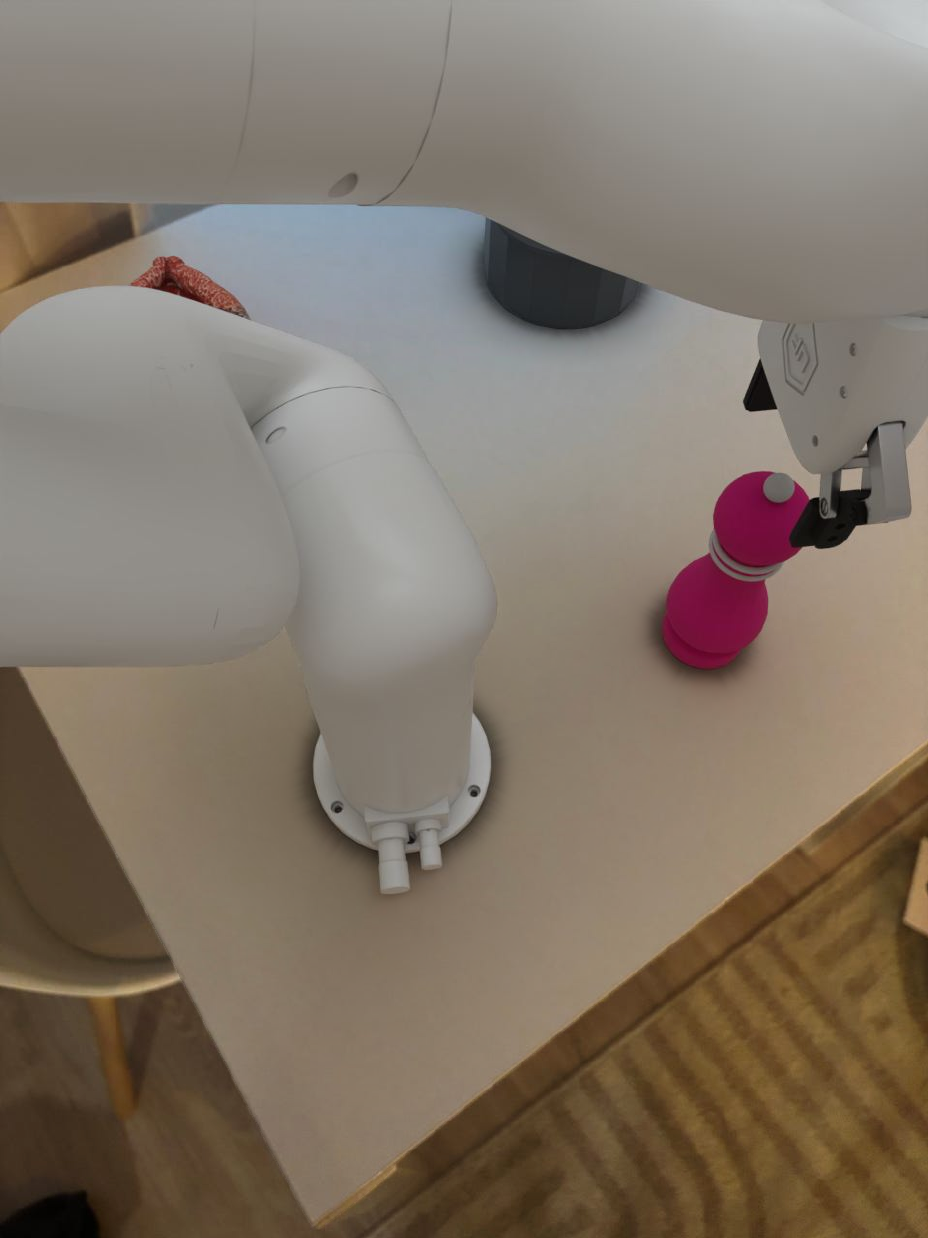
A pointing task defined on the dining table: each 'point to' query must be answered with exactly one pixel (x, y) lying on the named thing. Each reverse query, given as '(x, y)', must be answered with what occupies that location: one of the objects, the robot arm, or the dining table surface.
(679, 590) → the pepper mill
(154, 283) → the dish
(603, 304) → the pot
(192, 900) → the dining table surface
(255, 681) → the dining table surface
